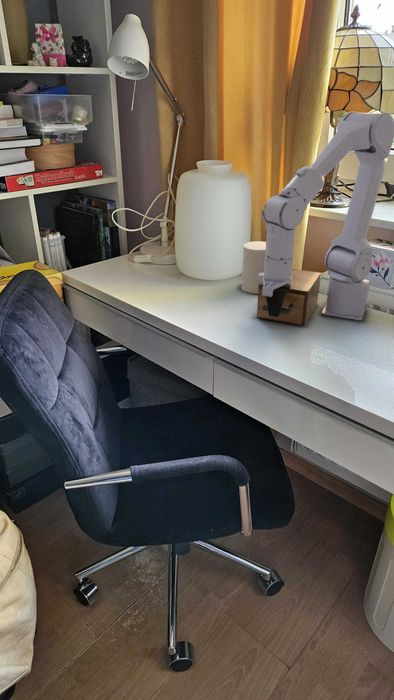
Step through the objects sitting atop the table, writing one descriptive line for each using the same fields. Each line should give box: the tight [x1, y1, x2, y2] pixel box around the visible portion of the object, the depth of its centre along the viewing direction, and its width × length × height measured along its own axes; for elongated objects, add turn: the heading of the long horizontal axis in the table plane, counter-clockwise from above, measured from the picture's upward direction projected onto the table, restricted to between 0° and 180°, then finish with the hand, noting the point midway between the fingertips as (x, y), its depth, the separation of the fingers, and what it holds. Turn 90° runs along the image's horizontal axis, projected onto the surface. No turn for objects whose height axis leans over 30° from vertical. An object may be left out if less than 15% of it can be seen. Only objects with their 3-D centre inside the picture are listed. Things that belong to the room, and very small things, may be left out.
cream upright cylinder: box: [241, 240, 266, 295], centre depth 129 cm, size 8×8×12 cm
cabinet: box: [256, 268, 321, 327], centre depth 116 cm, size 14×12×9 cm
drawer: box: [257, 288, 305, 324], centre depth 113 cm, size 17×10×7 cm, turn 156°
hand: (274, 315), depth 106 cm, fingers closed, pressing on drawer
